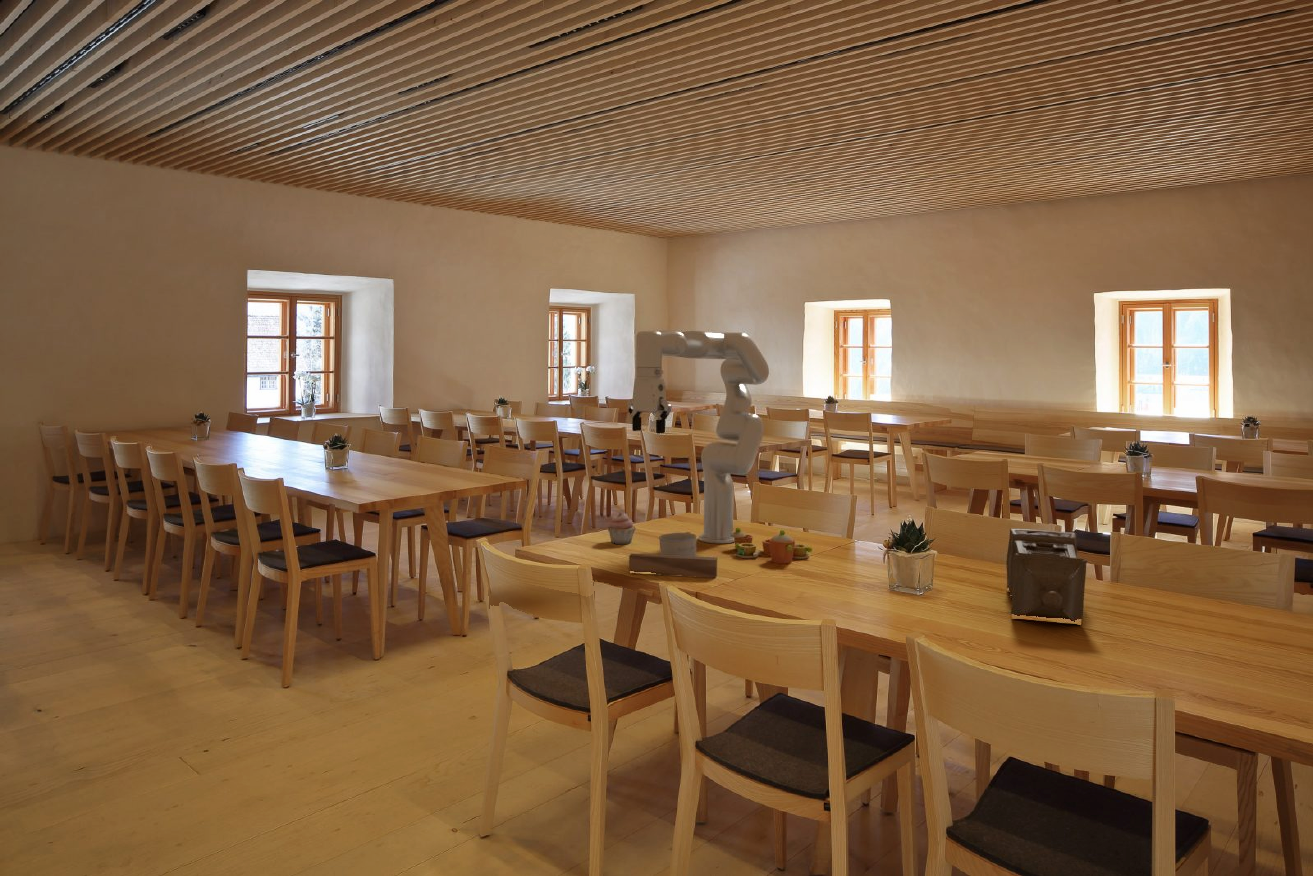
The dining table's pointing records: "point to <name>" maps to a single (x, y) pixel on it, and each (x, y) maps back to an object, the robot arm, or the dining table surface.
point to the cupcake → (621, 529)
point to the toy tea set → (770, 547)
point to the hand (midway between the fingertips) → (648, 431)
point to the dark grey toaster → (1045, 574)
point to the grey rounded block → (678, 544)
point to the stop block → (674, 565)
